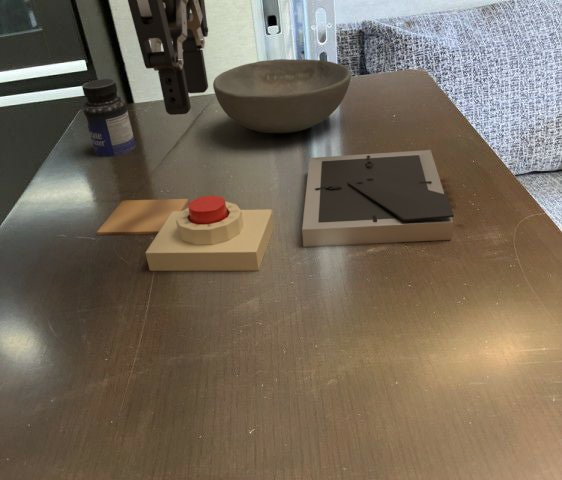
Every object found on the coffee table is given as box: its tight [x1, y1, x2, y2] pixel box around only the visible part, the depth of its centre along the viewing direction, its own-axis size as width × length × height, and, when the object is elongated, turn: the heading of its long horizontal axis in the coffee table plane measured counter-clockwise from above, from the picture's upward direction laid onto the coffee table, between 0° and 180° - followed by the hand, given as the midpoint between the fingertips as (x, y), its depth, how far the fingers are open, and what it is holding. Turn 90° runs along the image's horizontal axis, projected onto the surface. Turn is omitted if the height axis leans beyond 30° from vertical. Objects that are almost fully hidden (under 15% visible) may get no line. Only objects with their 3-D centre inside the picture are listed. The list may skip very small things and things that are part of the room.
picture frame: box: [301, 149, 455, 248], centre depth 74 cm, size 16×3×21 cm
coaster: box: [96, 198, 190, 236], centre depth 77 cm, size 9×9×1 cm
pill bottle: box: [81, 78, 137, 158], centre depth 91 cm, size 6×6×11 cm
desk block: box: [144, 201, 275, 272], centre depth 68 cm, size 12×10×4 cm
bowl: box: [212, 58, 352, 134], centre depth 97 cm, size 21×21×8 cm
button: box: [187, 195, 228, 225], centre depth 67 cm, size 4×4×2 cm
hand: (188, 101), depth 60 cm, fingers open, 6 cm apart
